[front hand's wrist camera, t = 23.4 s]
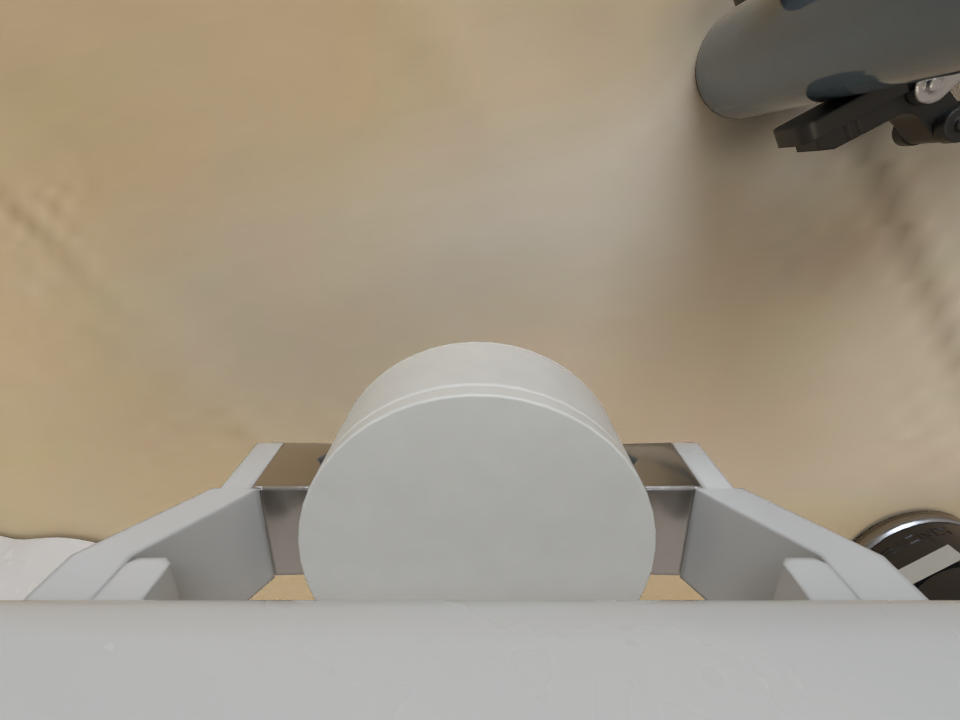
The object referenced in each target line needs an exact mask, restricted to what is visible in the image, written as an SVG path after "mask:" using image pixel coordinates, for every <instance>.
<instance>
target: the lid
mask: <svg viewBox="0 0 960 720" xmlns="http://www.w3.org/2000/svg"><path fill="white" fill-rule="evenodd" d="M298 544H299V552H300V560H301V565H302V568H303V572H304V575H305V579H306V581H307V584H308V586H309V588H310V590H311V592H312V594H313V597H314V598H315V600H639V599H640V597H641V595H642V593H643V591H644V589H645V587H646V585H647V582H648V579H649V576H650V573H651V570H652V566H653V560H654V555H655V545H656V528H655V522H654V515H653V510H652V507H651V503H650V500H649V497H648V494H647V491H646V489H645V487H644V485H643V483H642V481H641V480H640V478H639V476H638V474H637V472H636V470H635V468H634V466H633V464H632V462H631V460H630V458H629V456H628V454H627V452H626V450H625V448H624V446H623V445H622V443H621V441H620V439H619V437H618V435H617V433H616V431H615V429H614V427H613V425H612V423H611V421H610V419H609V417H608V415H607V414H606V412H605V410H604V408H603V406H602V405H601V403H600V402H599V401H598V399H597V398H596V396H595V395H594V394H593V392H592V391H591V390H590V389H589V388H588V387H587V386H586V385H585V384H584V383H583V382H582V381H581V380H580V379H579V378H578V377H576V376H575V375H574V374H573V373H571V372H570V371H569V370H567V369H566V368H565V367H563V366H561V365H560V364H558V363H556V362H554V361H553V360H551V359H549V358H547V357H545V356H542V355H540V354H538V353H535V352H533V351H530V350H527V349H523V348H520V347H516V346H513V345H507V344H500V343H493V342H464V343H454V344H448V345H444V346H439V347H435V348H431V349H428V350H425V351H423V352H420V353H417V354H414V355H412V356H410V357H408V358H406V359H404V360H402V361H401V362H399V363H397V364H395V365H394V366H392V367H391V368H389V369H388V370H387V371H385V372H384V373H382V374H381V375H380V376H379V377H377V378H376V379H375V380H374V381H373V382H372V383H371V384H370V385H369V386H368V387H367V388H366V389H365V390H364V392H363V393H362V394H361V395H360V397H359V398H358V399H357V400H356V402H355V403H354V405H353V407H352V409H351V410H350V412H349V414H348V415H347V417H346V419H345V421H344V423H343V425H342V427H341V428H340V430H339V432H338V434H337V436H336V438H335V440H334V441H333V443H332V445H331V447H330V449H329V451H328V453H327V455H326V456H325V458H324V460H323V462H322V464H321V466H320V468H319V469H318V472H317V473H316V475H315V477H314V479H313V481H312V483H311V484H310V487H309V489H308V492H307V495H306V497H305V500H304V502H303V506H302V511H301V516H300V520H299V535H298Z"/></svg>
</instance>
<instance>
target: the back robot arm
mask: <svg viewBox="0 0 960 720" xmlns="http://www.w3.org/2000/svg"><path fill="white" fill-rule="evenodd" d="M733 1H734V4H735V6H737V5H738V4H740V3H742V2H744V1H745V0H733ZM959 82H960V74H955V75H951V76H946V77H941V78H936V79H931V80H926V81H922V82H917V83H912V84H907V85H902V86H897V87H893V88H888V89H883V90H878V91H873V92H868V93H864V94H859V95H854V96H849V97H844V98H839V99H835V100H830V101H825V102H823V103H822V104H820V105H818V106H816V107H814V108H812V109H810V110H809V111H807V112H805V113H803V114H801V115H799V116H797V117H796V118H794V119H792V120H790V121H788V122H786V123H784V124H783V125H781V126H779V127H777V128H776V129H774V130H773V132H774V135H775V138H776V141H777V145H778V148H784V147H796V150H797V152H807V151H821V150H829V149H835V148H837V147H839V146H841V145H843V144H845V143H847V142H848V141H850V140H852V139H854V138H856V137H858V136H859V135H861V134H864V133H866V132H868V131H869V130H871V129H873V128H875V127H877V126H879V125H881V124H883V123H885V122H887V121H890V122H891V123H892V124H893V126H894V127H893V130H892V138H893V141H894V142H895V143H896V144H897V145H899V146H913V145H918V144H923V143H937V142H940V143H957V142H960V101H956V99H955V98H954V96H953V95H952V94H951V92H950V90H951V89H952V88H953V87H954V86H955V85H956V84H958V83H959ZM855 543H857V544H859V545H861V546H864V547H866V548H868V549H870V550H872V551H874V552H876V553H878V554H880V555H882V556H884V557H885V558H886V559H887V560H888V561H889V562H890V563H891V564H892V565H893V566H894V567H895V568H896V569H898V570H899V571H900V572H901V573H902V574H903V575H904V576H905V577H906V578H907V579H908V580H909V581H910V582H911V583H912V584H913V585H914V586H915V587H916V588H917V589H918V590H919V591H920V592H921V593H922V594H923V595H925V596H926V597H927V598H928V599H929V600H960V519H959V518H957V517H955V516H953V515H950V514H947V513H944V512H938V511H915V512H909V513H904V514H901V515H897V516H895V517H892V518H889V519H887V520H885V521H883V522H881V523H879V524H877V525H875V526H874V527H872V528H870V529H869V530H868V531H866V532H865V533H864V534H862V535H861V536H860V537H859V538H858V539H857V540H856V541H855Z"/></svg>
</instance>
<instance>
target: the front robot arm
mask: <svg viewBox="0 0 960 720" xmlns="http://www.w3.org/2000/svg"><path fill="white" fill-rule="evenodd" d="M331 445H332V444H324V443H285V442H275V443H259V444H256V445H255V447H254V448H253V449H252V450H251V452H250V453H249V454H248V455H247V456H246V458H245V459H244V460H243V461H242V462H241V464H240V465H239V466H238V467H237V469H236V470H235V471H234V472H233V473H232V475H231V476H230V477H229V478H228V480H227V481H226V482H225V483H224V484H223V486H222V487H221V488H212V489H210V490H207V491H205V492H203V493H201V494H199V495H197V496H195V497H193V498H191V499H188V500H186V501H184V502H182V503H180V504H178V505H176V506H174V507H171V508H169V509H167V510H165V511H163V512H161V513H159V514H157V515H155V516H152V517H150V518H148V519H146V520H144V521H142V522H140V523H138V524H136V525H133V526H131V527H129V528H127V529H125V530H123V531H121V532H119V533H117V534H114V535H112V536H110V537H108V538H106V539H104V540H102V541H100V542H98V543H95V542H91V541H86V540H81V539H74V538H64V537H47V538H35V539H13V538H9V537H5V536H0V720H960V600H929V599H928V598H927V597H926V596H925V595H923V594H922V593H921V592H920V591H919V590H918V589H917V588H916V587H915V586H914V585H913V584H912V583H911V582H910V581H909V580H908V579H907V578H906V577H905V576H904V575H903V574H902V573H901V572H900V571H899V570H898V569H896V568H895V567H894V566H893V565H892V564H891V563H890V562H889V561H888V560H887V559H886V558H885V557H884V556H882V555H880V554H878V553H876V552H874V551H872V550H870V549H868V548H866V547H864V546H861V545H859V544H857V543H855V542H853V541H851V540H849V539H847V538H845V537H843V536H841V535H839V534H836V533H834V532H832V531H830V530H828V529H826V528H824V527H822V526H820V525H818V524H816V523H814V522H811V521H809V520H807V519H805V518H803V517H801V516H799V515H797V514H795V513H793V512H791V511H788V510H786V509H784V508H782V507H780V506H778V505H776V504H774V503H772V502H770V501H768V500H766V499H763V498H761V497H759V496H757V495H755V494H753V493H751V492H749V491H747V490H745V489H743V488H733V486H732V485H731V484H730V483H729V482H728V480H727V479H726V478H725V477H724V475H723V474H722V473H721V472H720V470H719V469H718V468H717V467H716V465H715V464H714V463H713V462H712V460H711V459H710V458H709V457H708V455H707V454H706V453H705V452H704V451H703V449H702V448H701V447H700V446H699V444H697V443H694V442H685V443H643V444H622V445H623V446H624V448H625V450H626V452H627V454H628V456H629V458H630V460H631V462H632V464H633V466H634V468H635V470H636V472H637V474H638V476H639V478H640V480H641V481H642V483H643V485H644V487H645V489H646V491H647V494H648V497H649V500H650V503H651V507H652V510H653V515H654V522H655V528H656V545H655V555H654V560H653V566H652V570H651V573H650V574H655V575H680V578H681V579H683V580H684V581H685V582H686V583H687V584H688V585H689V586H691V587H692V588H693V589H694V590H695V591H696V592H697V593H699V594H700V595H701V596H702V597H703V598H704V599H705V600H249V599H250V598H251V597H253V596H254V595H255V594H256V593H257V592H258V591H260V590H261V589H262V588H263V587H264V586H265V585H267V584H268V583H269V582H270V581H271V580H272V579H274V575H299V574H304V572H303V568H302V565H301V560H300V552H299V544H298V535H299V520H300V516H301V511H302V506H303V502H304V500H305V497H306V495H307V492H308V489H309V487H310V484H311V483H312V481H313V479H314V477H315V475H316V473H317V472H318V469H319V468H320V466H321V464H322V462H323V460H324V458H325V456H326V455H327V453H328V451H329V449H330V447H331Z"/></svg>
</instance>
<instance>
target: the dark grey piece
mask: <svg viewBox="0 0 960 720" xmlns="http://www.w3.org/2000/svg"><path fill="white" fill-rule="evenodd" d="M955 74H960V0H749V1H747V2H746V3H744V4H743V5H741V6H739V7H738V8H736V9H735V10H733V11H731V12H730V13H728V14H727V15H725V16H724V17H723V18H721V19H720V20H719V21H718V22H717V23H716V24H715V25H714V26H713V27H712V28H711V30H710V31H709V33H708V34H707V36H706V37H705V39H704V41H703V43H702V45H701V48H700V51H699V54H698V58H697V63H696V80H697V86H698V89H699V92H700V94H701V97H702V98H703V100H704V102H705V103H706V104H707V105H708V106H709V108H711V109H712V110H713V111H714V112H716V113H717V114H719V115H721V116H724V117H727V118H733V119H742V118H748V117H752V116H757V115H762V114H767V113H772V112H777V111H781V110H786V109H791V108H796V107H801V106H806V105H810V104H815V103H820V102H825V101H830V100H835V99H839V98H844V97H849V96H854V95H859V94H864V93H868V92H873V91H878V90H883V89H888V88H893V87H897V86H902V85H907V84H912V83H917V82H922V81H926V80H931V79H936V78H941V77H946V76H951V75H955Z"/></svg>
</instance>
